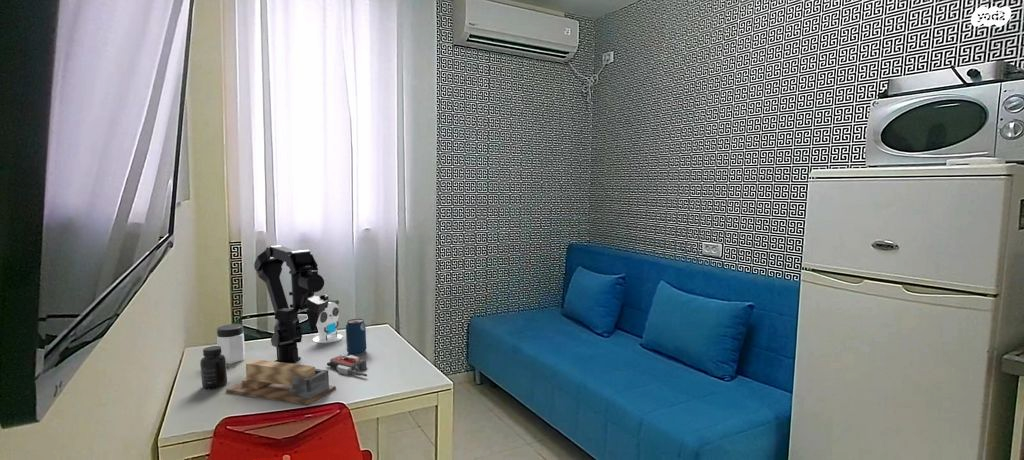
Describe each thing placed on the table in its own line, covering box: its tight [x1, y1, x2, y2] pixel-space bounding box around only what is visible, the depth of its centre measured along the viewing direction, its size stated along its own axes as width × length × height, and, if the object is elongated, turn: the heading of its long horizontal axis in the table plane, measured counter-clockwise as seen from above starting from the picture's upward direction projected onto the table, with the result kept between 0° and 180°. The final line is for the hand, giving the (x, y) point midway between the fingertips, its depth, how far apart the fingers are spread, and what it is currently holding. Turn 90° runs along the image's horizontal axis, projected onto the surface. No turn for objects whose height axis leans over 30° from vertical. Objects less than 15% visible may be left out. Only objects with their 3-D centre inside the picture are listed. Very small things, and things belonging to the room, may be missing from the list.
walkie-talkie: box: [326, 354, 368, 377], centre depth 171 cm, size 9×4×20 cm
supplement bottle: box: [199, 345, 228, 390], centre depth 158 cm, size 7×7×12 cm
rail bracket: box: [225, 368, 337, 406], centre depth 154 cm, size 30×12×6 cm, turn 71°
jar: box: [216, 323, 246, 365], centre depth 182 cm, size 9×8×12 cm
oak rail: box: [245, 358, 316, 386], centre depth 154 cm, size 22×4×5 cm, turn 72°
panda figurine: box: [312, 299, 343, 344], centre depth 206 cm, size 12×11×15 cm
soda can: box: [345, 318, 367, 356], centre depth 188 cm, size 7×7×12 cm
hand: (303, 334), depth 171 cm, fingers open, 9 cm apart
